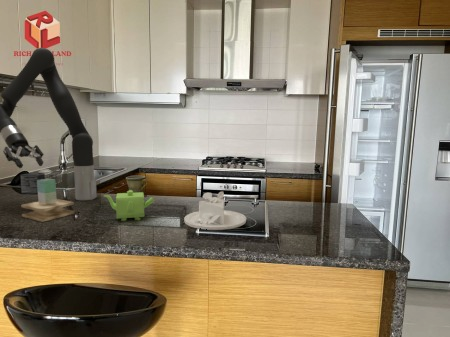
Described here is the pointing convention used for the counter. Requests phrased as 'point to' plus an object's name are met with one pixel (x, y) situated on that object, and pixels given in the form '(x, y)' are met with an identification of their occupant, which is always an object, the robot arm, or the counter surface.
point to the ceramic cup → (136, 183)
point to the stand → (47, 210)
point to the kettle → (129, 205)
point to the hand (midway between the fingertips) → (31, 165)
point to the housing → (46, 191)
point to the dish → (214, 215)
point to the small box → (30, 183)
